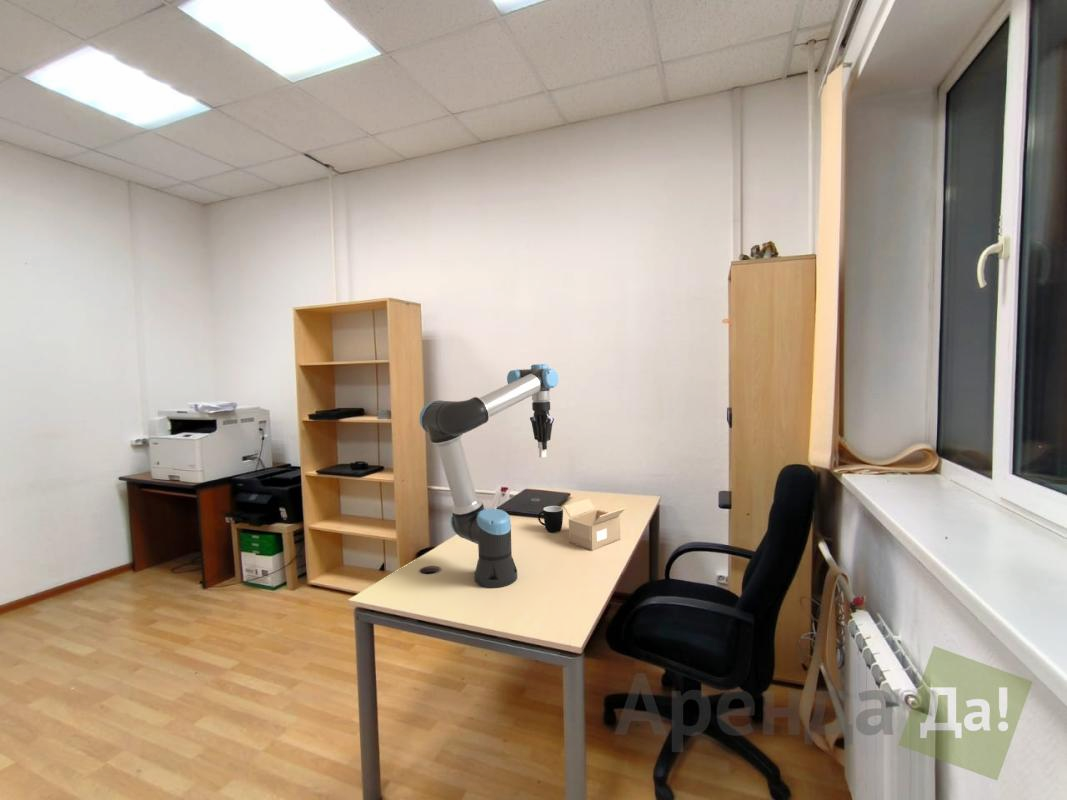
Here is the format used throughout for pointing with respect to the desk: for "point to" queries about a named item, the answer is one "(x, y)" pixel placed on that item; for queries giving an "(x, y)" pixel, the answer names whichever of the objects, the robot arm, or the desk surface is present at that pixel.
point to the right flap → (609, 515)
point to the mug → (552, 518)
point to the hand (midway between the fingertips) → (542, 456)
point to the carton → (593, 530)
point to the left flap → (579, 507)
